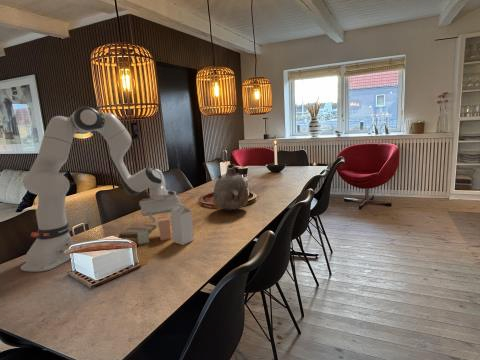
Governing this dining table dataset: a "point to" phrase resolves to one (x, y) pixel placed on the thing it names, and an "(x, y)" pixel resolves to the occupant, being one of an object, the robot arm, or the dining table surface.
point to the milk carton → (182, 224)
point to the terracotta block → (164, 228)
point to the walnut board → (133, 230)
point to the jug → (230, 190)
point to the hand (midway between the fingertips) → (163, 220)
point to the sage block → (143, 236)
